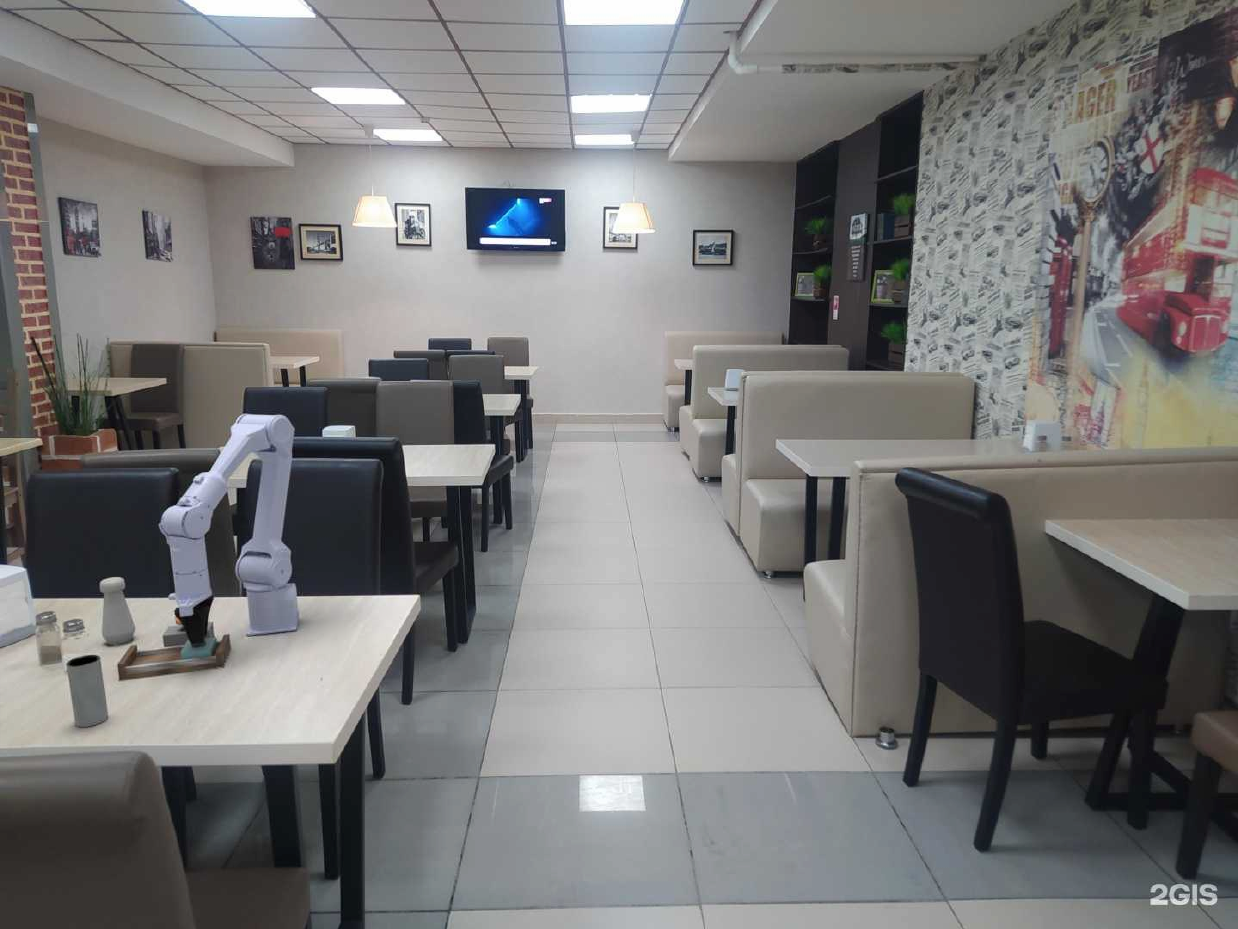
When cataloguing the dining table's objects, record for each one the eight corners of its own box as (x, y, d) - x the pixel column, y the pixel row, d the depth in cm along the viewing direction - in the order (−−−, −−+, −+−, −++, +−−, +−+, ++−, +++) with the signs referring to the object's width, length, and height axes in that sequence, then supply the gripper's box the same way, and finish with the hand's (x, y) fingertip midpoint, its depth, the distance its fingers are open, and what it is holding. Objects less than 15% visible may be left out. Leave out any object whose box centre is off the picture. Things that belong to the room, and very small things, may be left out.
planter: (84, 714, 135) (76, 655, 133) (114, 713, 136) (105, 653, 134) (69, 728, 131) (60, 667, 129) (99, 726, 131) (90, 665, 129)
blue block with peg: (217, 647, 159) (213, 617, 158) (211, 659, 153) (208, 628, 152) (188, 650, 158) (184, 620, 156) (181, 663, 152) (177, 632, 151)
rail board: (230, 648, 161) (229, 634, 161) (223, 667, 153) (221, 652, 152) (132, 660, 156) (130, 645, 156) (119, 680, 148) (117, 664, 147)
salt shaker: (143, 636, 168) (135, 574, 166) (124, 647, 163) (115, 583, 160) (116, 635, 169) (108, 574, 167) (96, 646, 163) (87, 583, 161)
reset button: (202, 630, 165) (199, 610, 164) (198, 638, 161) (195, 617, 161) (179, 633, 164) (177, 613, 163) (175, 640, 160) (173, 620, 160)
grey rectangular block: (214, 638, 167) (212, 621, 166) (210, 647, 162) (208, 630, 161) (170, 643, 164) (168, 626, 164) (164, 652, 160) (162, 635, 159)
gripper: (175, 561, 158) (183, 628, 161) (156, 584, 144) (165, 657, 147) (215, 557, 160) (222, 624, 163) (201, 580, 146) (209, 652, 149)
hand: (198, 639), depth 155 cm, fingers closed on blue block with peg, 2 cm apart
